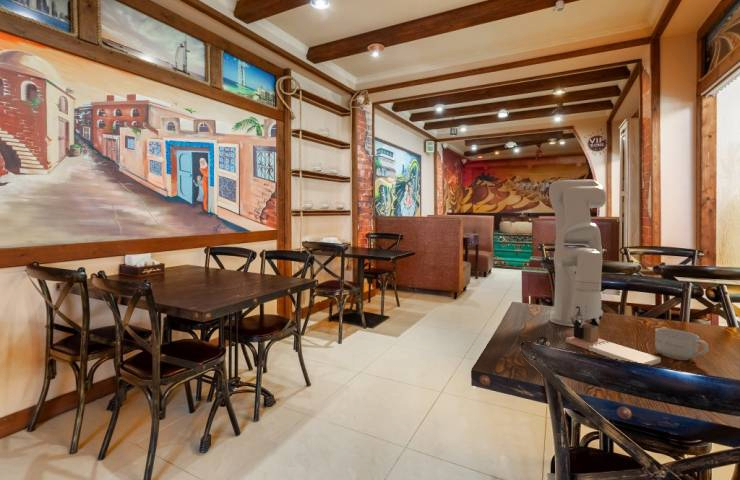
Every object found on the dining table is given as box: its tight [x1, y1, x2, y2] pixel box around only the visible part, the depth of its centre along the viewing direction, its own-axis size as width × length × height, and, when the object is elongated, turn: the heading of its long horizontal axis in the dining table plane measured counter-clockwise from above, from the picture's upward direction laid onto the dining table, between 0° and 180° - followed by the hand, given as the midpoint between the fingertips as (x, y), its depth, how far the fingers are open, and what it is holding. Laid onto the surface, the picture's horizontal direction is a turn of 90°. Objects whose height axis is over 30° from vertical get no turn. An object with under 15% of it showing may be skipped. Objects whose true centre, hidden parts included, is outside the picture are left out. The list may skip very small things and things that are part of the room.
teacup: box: [654, 327, 710, 361], centre depth 114 cm, size 14×11×8 cm
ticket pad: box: [588, 340, 662, 366], centre depth 116 cm, size 10×16×2 cm, turn 26°
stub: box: [565, 322, 607, 350], centre depth 127 cm, size 10×8×6 cm
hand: (586, 335), depth 127 cm, fingers open, 7 cm apart
